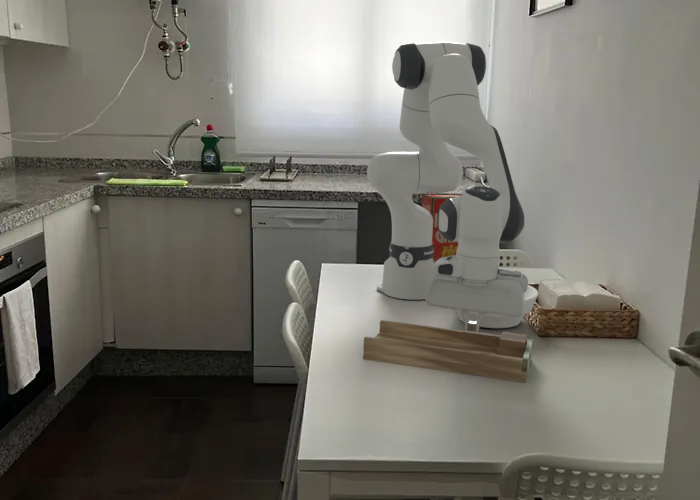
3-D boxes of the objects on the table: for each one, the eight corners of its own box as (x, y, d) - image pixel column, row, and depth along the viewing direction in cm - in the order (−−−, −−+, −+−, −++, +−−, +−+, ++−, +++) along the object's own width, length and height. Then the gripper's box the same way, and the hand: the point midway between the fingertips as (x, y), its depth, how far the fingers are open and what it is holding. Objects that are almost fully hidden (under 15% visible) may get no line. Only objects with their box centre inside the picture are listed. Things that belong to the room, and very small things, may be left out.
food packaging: (428, 282, 205) (431, 196, 202) (417, 276, 214) (420, 194, 211) (470, 281, 209) (474, 196, 205) (458, 275, 218) (462, 194, 214)
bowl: (423, 317, 175) (425, 285, 173) (482, 302, 189) (484, 272, 188) (496, 343, 158) (498, 307, 157) (554, 324, 173) (557, 291, 171)
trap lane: (380, 339, 158) (381, 320, 157) (531, 359, 148) (532, 339, 147) (363, 358, 146) (363, 338, 145) (525, 382, 136) (527, 360, 135)
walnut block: (501, 349, 148) (502, 331, 147) (525, 353, 147) (527, 334, 146) (498, 357, 144) (499, 339, 143) (523, 361, 142) (524, 342, 141)
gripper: (530, 268, 144) (524, 332, 148) (431, 257, 150) (428, 319, 154) (527, 276, 138) (521, 342, 142) (425, 265, 145) (421, 328, 148)
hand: (472, 330), depth 148 cm, fingers closed
